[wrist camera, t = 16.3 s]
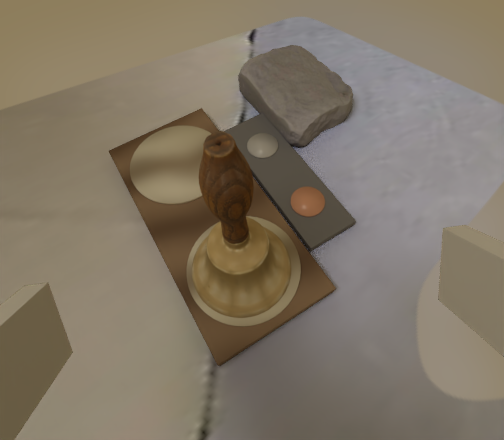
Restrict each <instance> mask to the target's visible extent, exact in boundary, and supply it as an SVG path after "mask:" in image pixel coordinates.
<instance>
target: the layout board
mask: <svg viewBox="0 0 504 440" xmlns="http://www.w3.org/2000/svg"><path fill="white" fill-rule="evenodd" d="M215 132H219V131H218V130H217V128H216V127H215V125H214V124H213V123H212V121H211V120H210V119H209V117H208V116H207V115H206V113H205V112H204V111H203V109H202V108H201V109H199V110H197V111H195V112H192V113H190V114H188V115H186V116H184V117H182V118H179V119H177V120H175V121H173V122H171V123H169V124H166V125H164V126H162V127H160V128H158V129H155V130H153V131H151V132H149V133H147V134H145V135H142V136H140V137H138V138H136V139H134V140H131V141H129V142H127V143H125V144H123V145H121V146H118V147H116V148H114V149H112V150H110V151H109V153H110V155H111V157H112V159H113V161H114V163H115V165H116V167H117V168H118V170H119V172H120V174H121V176H122V178H123V180H124V182H125V184H126V186H127V188H128V190H129V192H130V194H131V196H132V198H133V200H134V202H135V204H136V206H137V208H138V210H139V212H140V214H141V216H142V218H143V220H144V222H145V224H146V226H147V227H148V229H149V231H150V233H151V235H152V237H153V239H154V241H155V243H156V245H157V247H158V249H159V251H160V253H161V255H162V257H163V259H164V261H165V263H166V265H167V267H168V269H169V271H170V273H171V275H172V277H173V279H174V281H175V283H176V284H177V286H178V288H179V290H180V292H181V294H182V296H183V298H184V300H185V302H186V304H187V306H188V308H189V310H190V312H191V314H192V316H193V318H194V320H195V322H196V324H197V326H198V328H199V330H200V332H201V334H202V336H203V338H204V340H205V341H206V343H207V345H208V347H209V349H210V351H211V353H212V355H213V357H214V359H215V361H216V363H217V365H218V366H221V365H222V364H224V363H225V362H227V361H228V360H230V359H231V358H233V357H234V356H236V355H237V354H239V353H240V352H242V351H244V350H245V349H247V348H248V347H250V346H251V345H253V344H254V343H256V342H257V341H259V340H260V339H262V338H263V337H265V336H267V335H268V334H270V333H271V332H273V331H274V330H276V329H277V328H279V327H280V326H282V325H283V324H285V323H286V322H288V321H289V320H291V319H293V318H294V317H296V316H297V315H299V314H300V313H302V312H303V311H305V310H306V309H308V308H309V307H311V306H312V305H314V304H316V303H317V302H319V301H320V300H322V299H323V298H325V297H326V296H328V295H329V294H331V293H332V292H333V291H334V290H335V289H336V288H335V287H334V285H333V284H332V282H331V281H330V280H329V278H328V277H327V276H326V274H325V273H324V272H323V270H322V269H321V268H320V266H319V265H318V264H317V262H316V261H315V260H314V258H313V257H312V256H311V254H310V253H309V252H308V250H307V249H306V248H305V246H304V245H303V244H302V242H301V241H300V240H299V238H298V237H297V236H296V234H295V233H294V231H293V230H292V229H291V227H290V226H289V225H288V223H287V222H286V221H285V219H284V218H283V217H282V215H281V214H280V213H279V211H278V210H277V209H276V207H275V206H274V205H273V203H272V202H271V201H270V199H269V198H268V197H267V195H266V194H265V193H264V191H263V190H262V189H261V187H260V186H259V185H258V183H257V182H256V181H255V179H254V178H253V185H254V191H253V200H252V203H251V206H250V209H249V211H248V213H247V214H246V217H249V218H252V219H254V220H255V221H257V222H258V223H260V224H261V226H263V227H265V228H267V229H269V230H270V231H272V232H273V233H274V234H276V235H277V236H278V237H279V238H280V239H281V241H282V242H283V244H284V245H285V247H286V249H287V251H288V253H289V256H290V261H291V277H290V281H289V285H288V287H287V289H286V292H285V293H284V295H283V296H282V297H281V299H280V300H279V301H278V302H277V303H276V304H275V305H274V306H273V307H271V308H270V309H269V310H267V311H265V312H264V313H261V314H259V315H256V316H252V317H247V318H235V317H229V316H225V315H222V314H220V313H218V312H216V311H214V310H212V309H211V308H210V307H208V306H207V305H206V304H205V303H204V302H203V301H202V299H201V298H200V296H199V295H198V293H197V291H196V289H195V287H194V283H193V279H192V263H193V259H194V256H195V253H196V251H197V249H198V247H199V246H200V244H201V243H202V241H203V240H204V239H205V238H206V237H207V236H208V235H209V233H210V231H211V229H212V228H213V227H214V226H215V225H216V224H217V223H218V222H220V220H219V219H218V218H217V217H216V216H214V215H213V214H212V212H211V211H210V210H209V208H208V207H207V205H206V203H205V201H204V199H203V196H202V193H201V190H200V186H199V168H200V163H201V160H202V156H203V144H204V141H205V139H206V137H207V136H209V135H211V134H213V133H215Z"/></svg>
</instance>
